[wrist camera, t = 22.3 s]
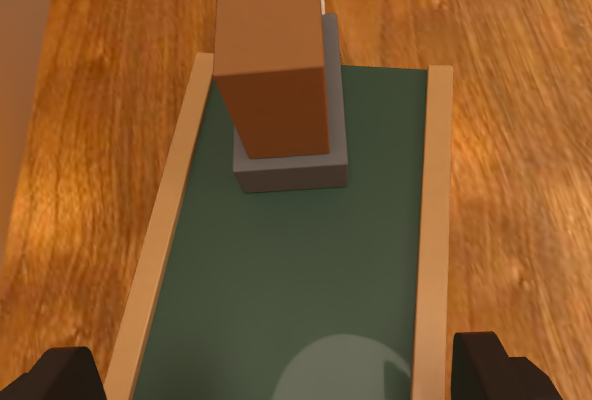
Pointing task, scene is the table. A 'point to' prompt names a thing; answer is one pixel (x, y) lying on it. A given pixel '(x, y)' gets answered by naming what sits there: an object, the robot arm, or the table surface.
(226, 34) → the eraser
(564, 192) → the table surface
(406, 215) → the chalkboard
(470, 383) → the robot arm
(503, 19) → the table surface
